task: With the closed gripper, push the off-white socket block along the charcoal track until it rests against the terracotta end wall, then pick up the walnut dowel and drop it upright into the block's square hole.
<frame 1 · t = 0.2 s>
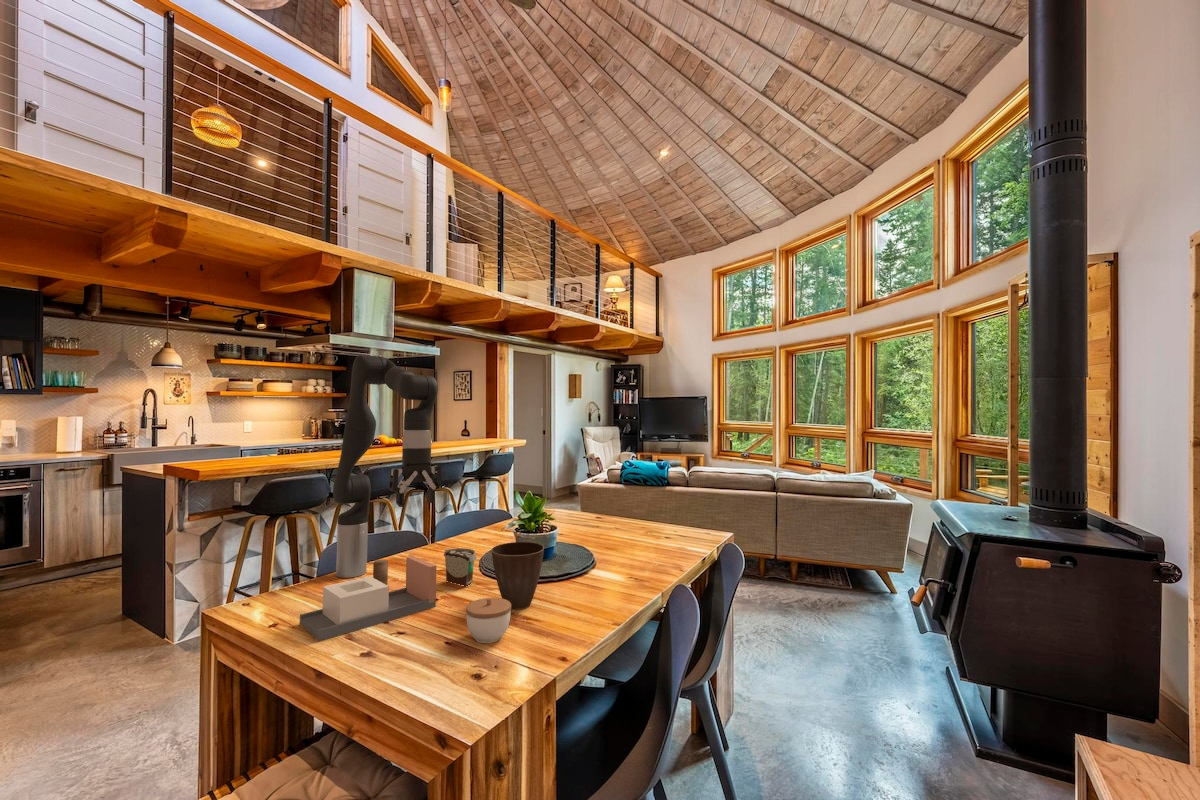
hand: (415, 504, 138), 29 cm above the table, tool pointing down, fingers open, 8 cm apart
food container: (463, 582, 160), on the table
dowel: (379, 595, 147), on the table
socket block: (355, 599, 130), point 5 cm above the table, slide at 0.0 cm
track: (370, 615, 133), on the table
plant pot: (517, 605, 141), on the table
lidded jar: (488, 638, 120), on the table
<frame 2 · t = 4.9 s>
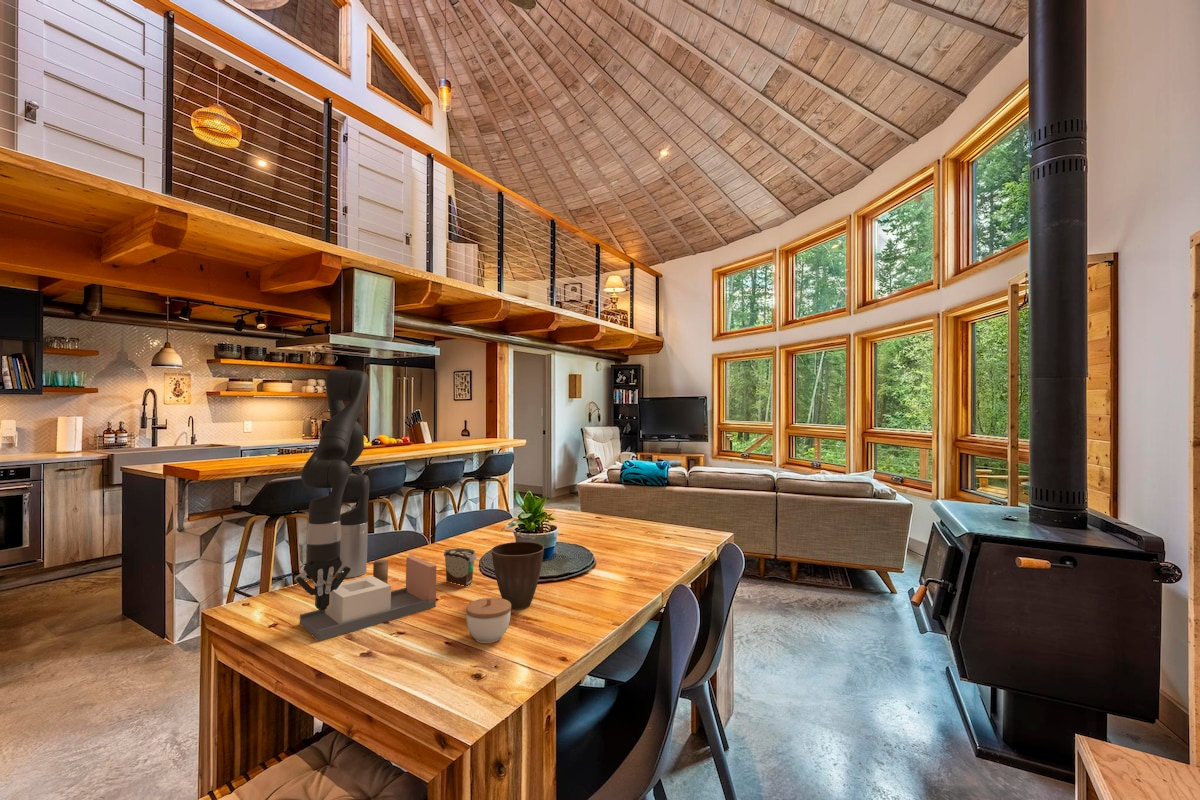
hand: (321, 609, 124), 5 cm above the table, tool pointing down, fingers closed
socket block: (358, 599, 130), point 5 cm above the table, slide at 0.6 cm, touching gripper
everything else where it was.
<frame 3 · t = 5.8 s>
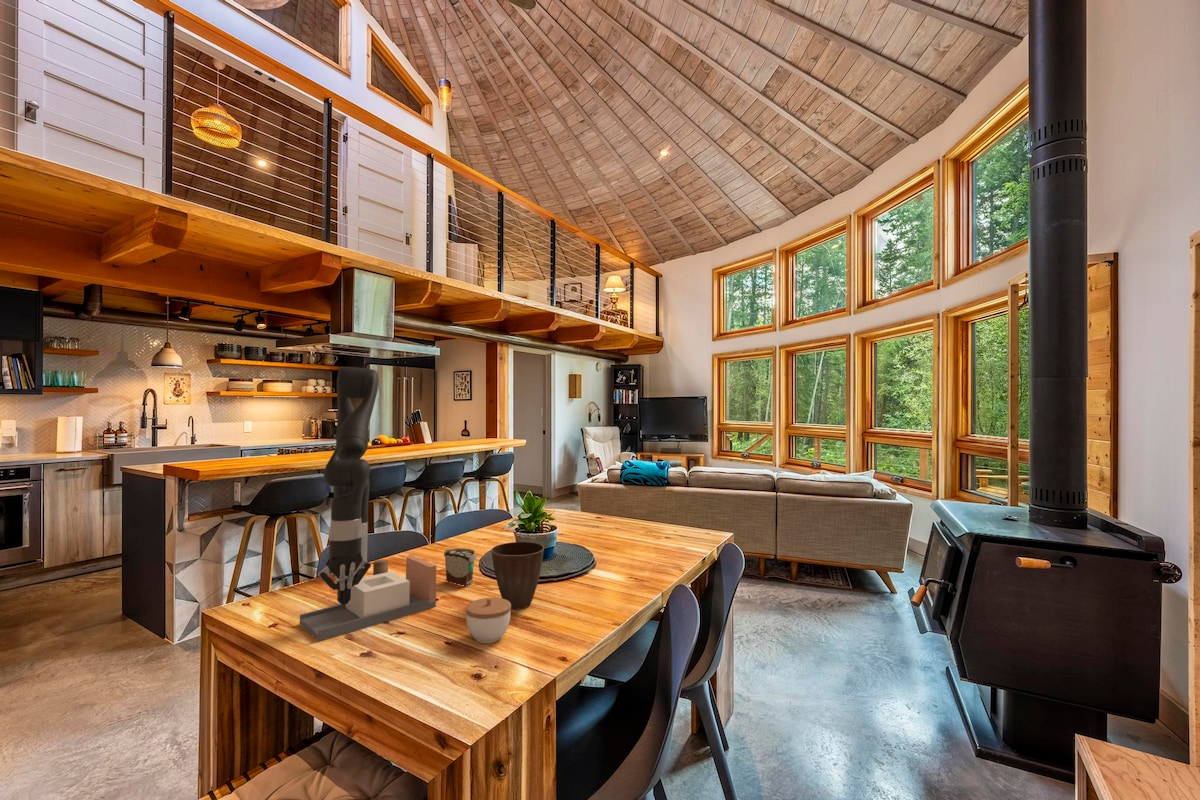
hand: (343, 603, 128), 5 cm above the table, tool pointing down, fingers closed
socket block: (377, 594, 134), point 5 cm above the table, slide at 5.8 cm, touching gripper
everything else where it was.
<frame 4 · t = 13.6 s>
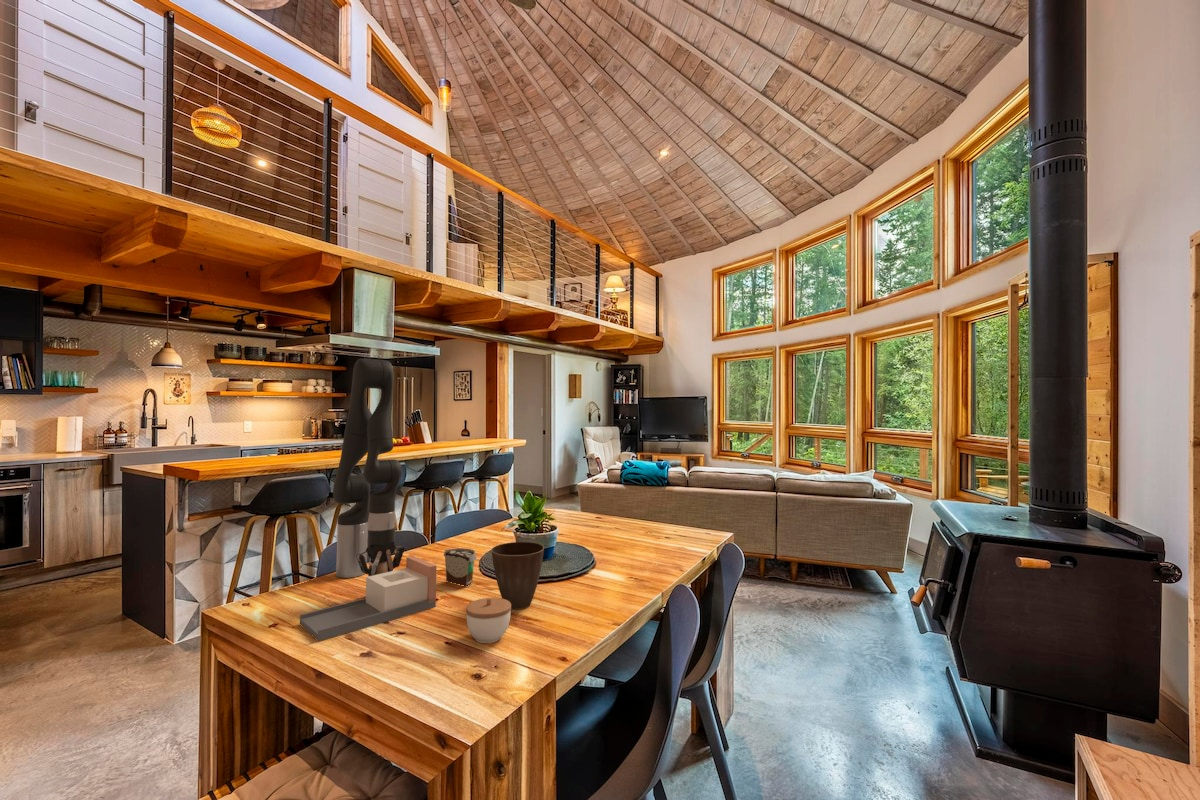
hand: (380, 584, 148), 3 cm above the table, tool pointing down, fingers closed on dowel, 4 cm apart
dowel: (380, 595, 147), on the table, touching gripper
socket block: (396, 589, 138), point 5 cm above the table, slide at 11.0 cm
everything else where it was.
when the fingers open (10 cm above the table, at t = 18.6 s): dowel drops 4 cm, resting on socket block.
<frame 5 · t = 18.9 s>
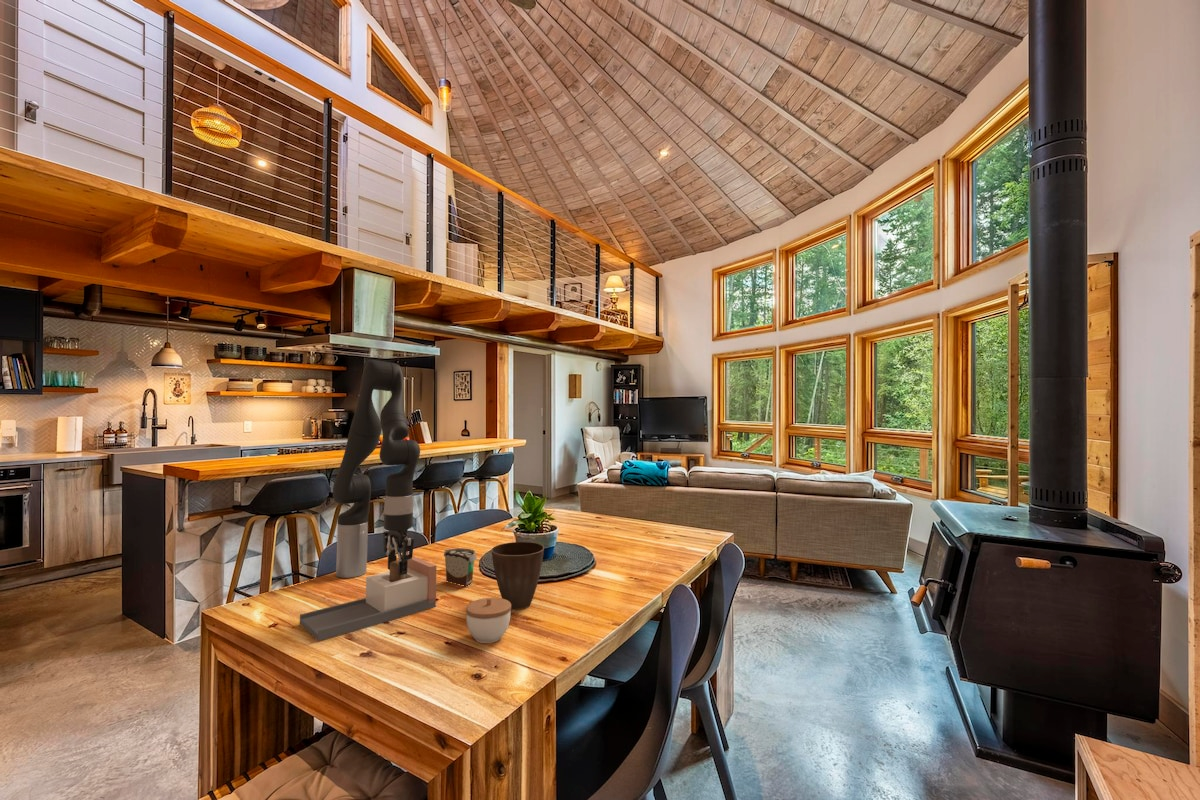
hand: (397, 571, 138), 10 cm above the table, tool pointing down, fingers open, 6 cm apart
dowel: (396, 598, 138), point 3 cm above the table, touching socket block
socket block: (396, 589, 138), point 5 cm above the table, slide at 11.0 cm, touching dowel
everything else where it was.
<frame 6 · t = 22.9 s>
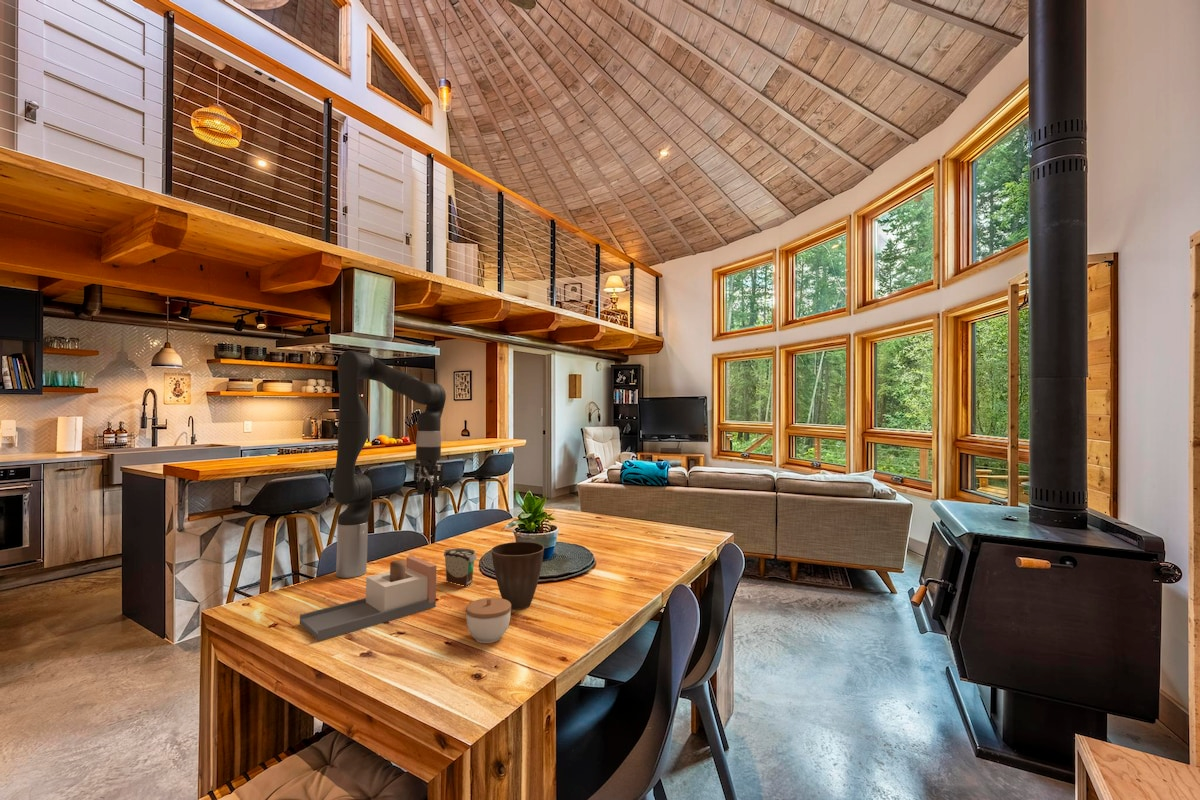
hand: (427, 495, 158), 28 cm above the table, tool pointing down, fingers open, 8 cm apart
nothing on the table moved.
at the end: socket block slide at 11.0 cm; dowel 0.2 cm from the target spot, point 2.6 cm above the table; dowel tilted 1° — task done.
